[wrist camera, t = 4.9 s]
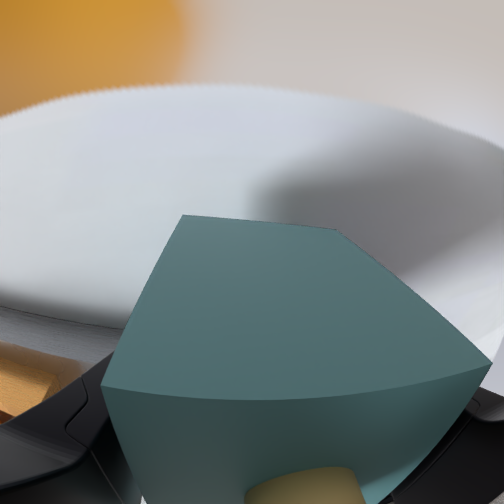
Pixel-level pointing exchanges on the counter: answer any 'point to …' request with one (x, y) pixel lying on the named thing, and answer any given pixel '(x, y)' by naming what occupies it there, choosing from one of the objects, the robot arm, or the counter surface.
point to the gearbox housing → (45, 357)
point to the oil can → (281, 370)
